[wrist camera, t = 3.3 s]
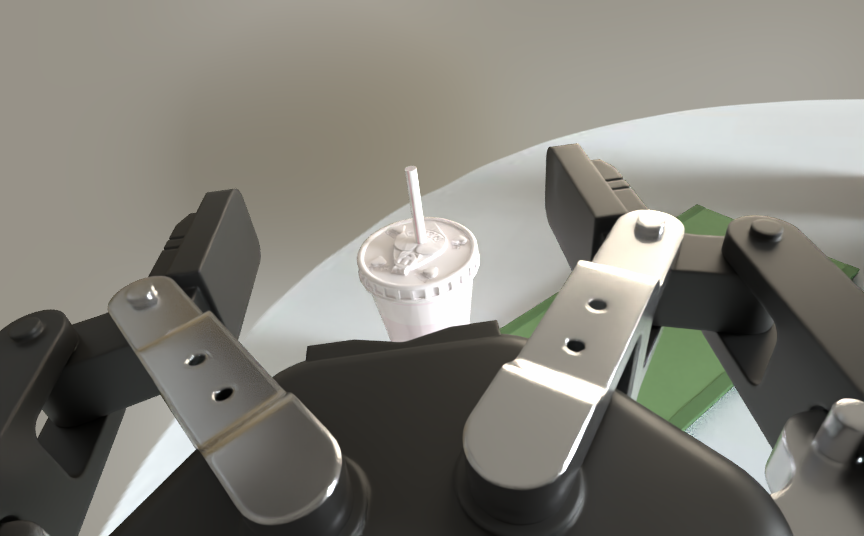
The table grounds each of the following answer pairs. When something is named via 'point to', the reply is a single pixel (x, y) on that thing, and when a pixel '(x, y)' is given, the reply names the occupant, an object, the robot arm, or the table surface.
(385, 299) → the smoothie
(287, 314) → the table surface
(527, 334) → the green flat rectangular slab
